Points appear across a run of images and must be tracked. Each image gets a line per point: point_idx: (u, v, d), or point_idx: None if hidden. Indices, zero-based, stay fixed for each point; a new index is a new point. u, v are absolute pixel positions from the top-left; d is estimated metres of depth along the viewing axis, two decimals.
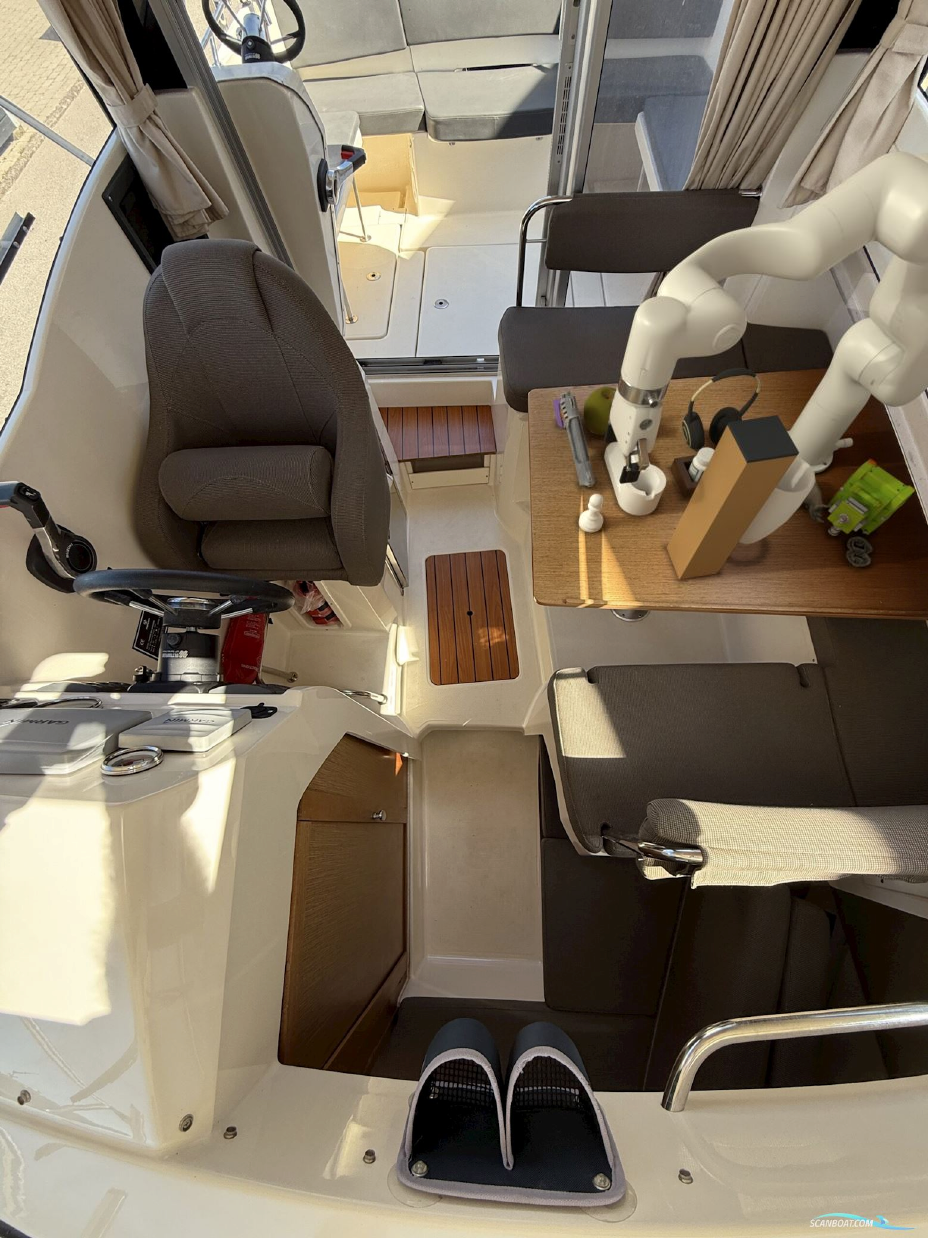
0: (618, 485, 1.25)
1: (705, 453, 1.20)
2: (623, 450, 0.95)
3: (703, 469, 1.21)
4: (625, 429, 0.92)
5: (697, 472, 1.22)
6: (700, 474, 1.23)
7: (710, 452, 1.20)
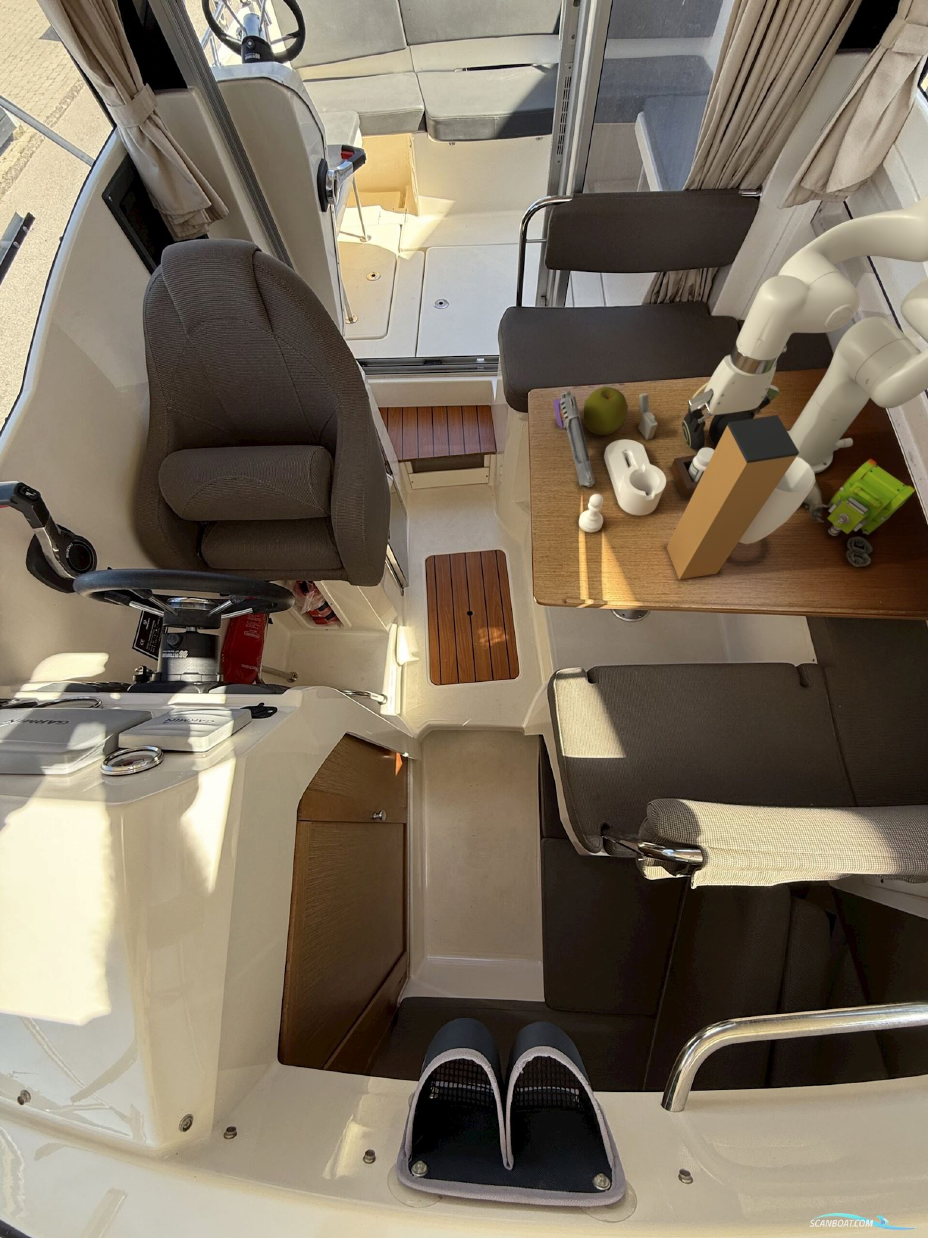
0: (618, 485, 1.25)
1: (705, 453, 1.20)
2: (755, 406, 1.07)
3: (703, 469, 1.21)
4: (760, 390, 1.03)
5: (697, 472, 1.22)
6: (700, 474, 1.23)
7: (710, 452, 1.20)
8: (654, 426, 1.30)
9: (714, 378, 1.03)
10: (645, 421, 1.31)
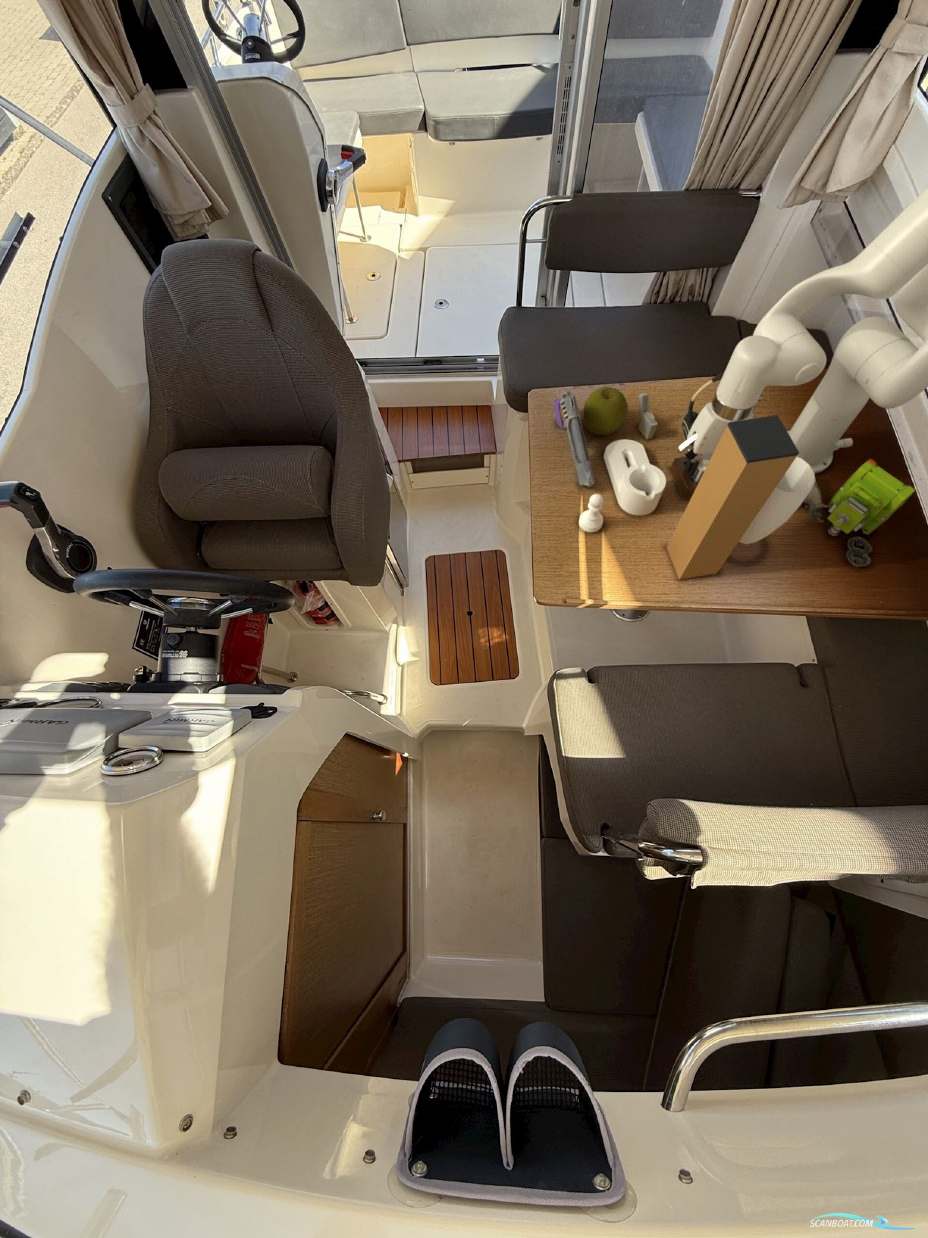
0: (618, 485, 1.25)
1: (705, 453, 1.20)
2: None
3: (703, 469, 1.21)
4: None
5: (697, 472, 1.22)
6: (700, 474, 1.23)
7: None
8: (654, 426, 1.30)
9: (697, 422, 1.13)
10: (645, 421, 1.31)
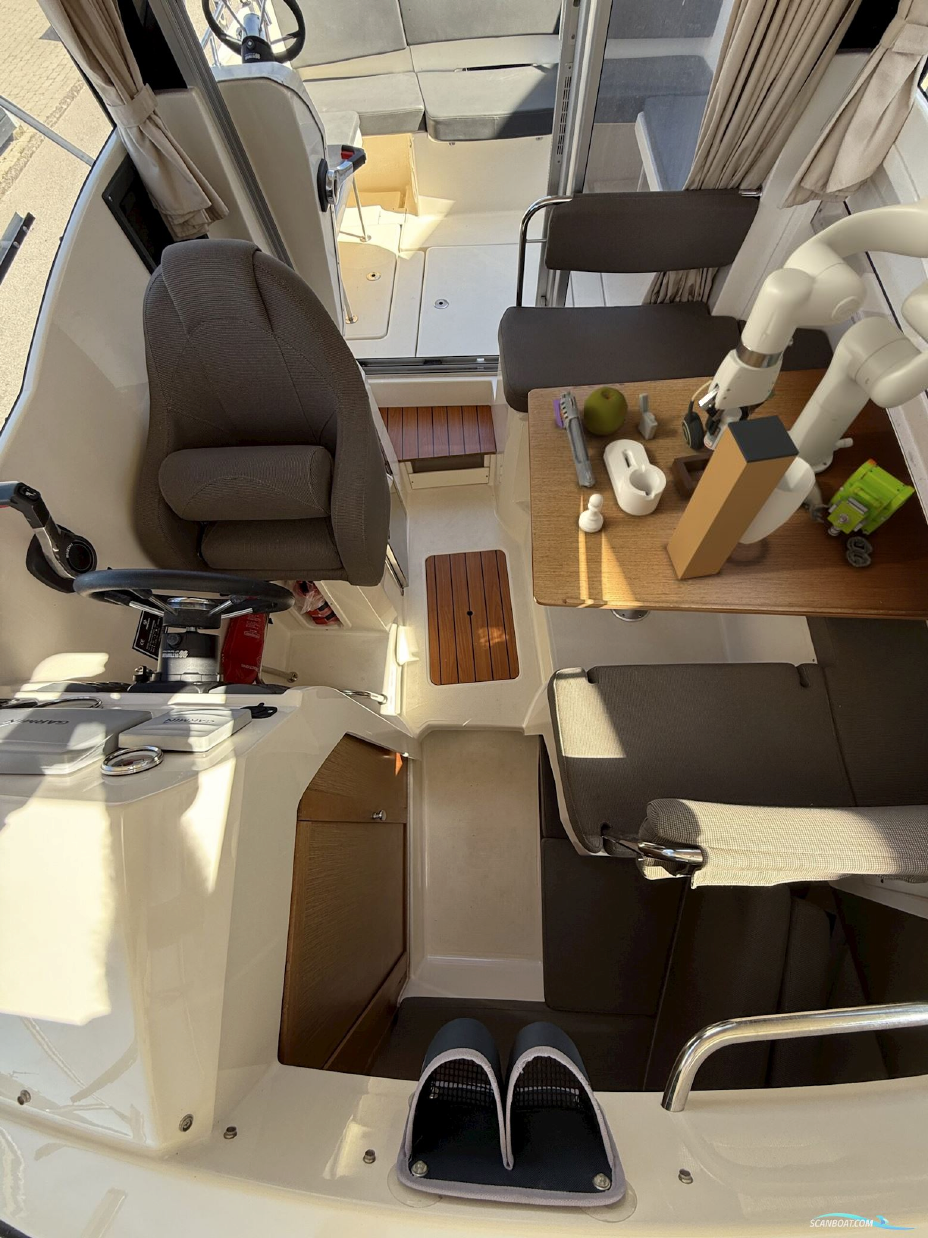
0: (618, 485, 1.25)
1: (728, 409, 1.10)
2: (762, 399, 1.06)
3: None
4: (767, 384, 1.02)
5: (719, 431, 1.12)
6: (722, 434, 1.12)
7: (733, 408, 1.10)
8: (654, 426, 1.30)
9: (720, 373, 1.02)
10: (645, 421, 1.31)
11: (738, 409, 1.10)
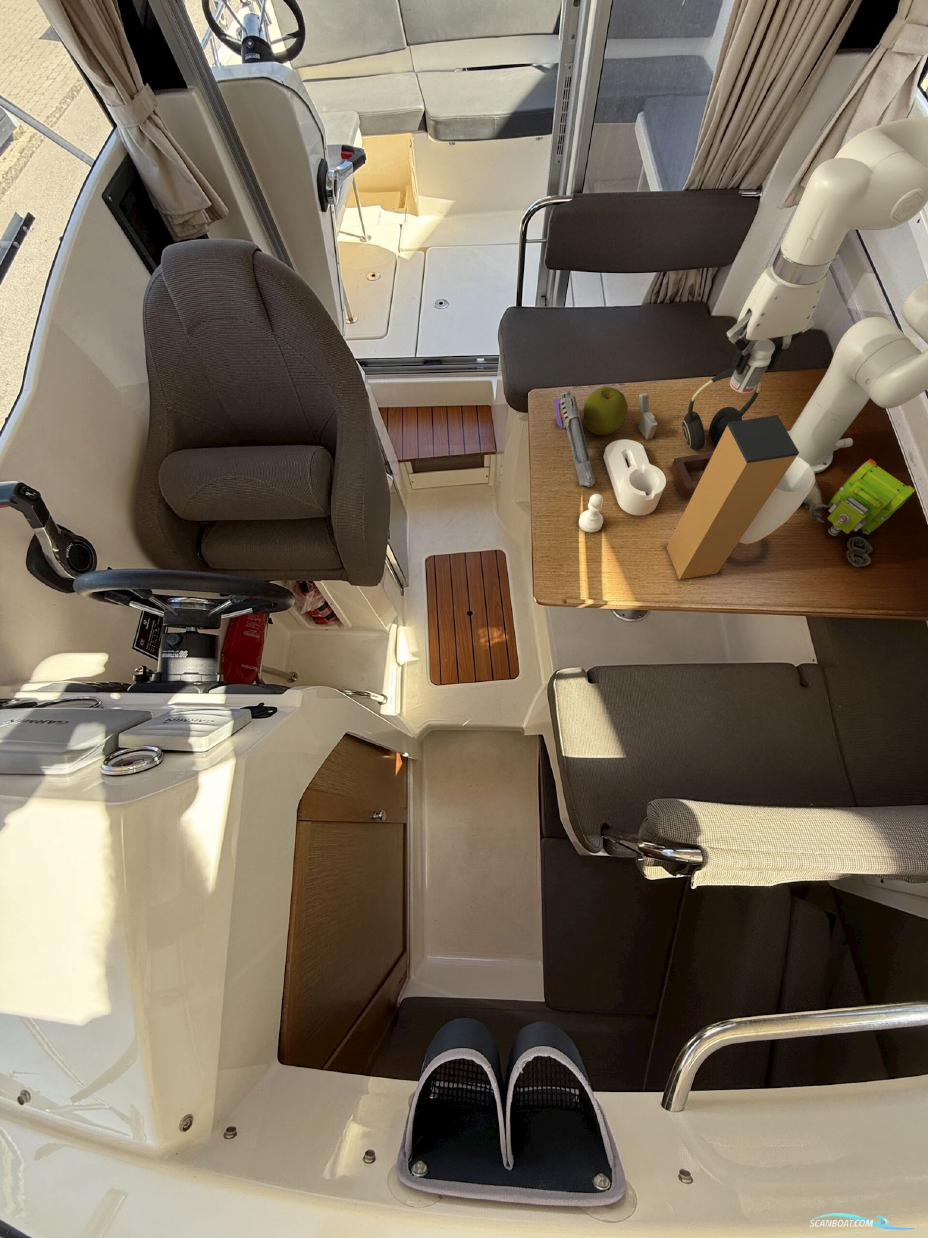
0: (618, 485, 1.25)
1: (760, 343, 0.97)
2: (800, 329, 0.93)
3: (756, 364, 0.98)
4: (807, 308, 0.89)
5: (748, 369, 0.99)
6: (752, 372, 0.99)
7: (765, 342, 0.97)
8: (654, 426, 1.30)
9: (753, 295, 0.89)
10: (645, 421, 1.31)
11: (771, 343, 0.97)
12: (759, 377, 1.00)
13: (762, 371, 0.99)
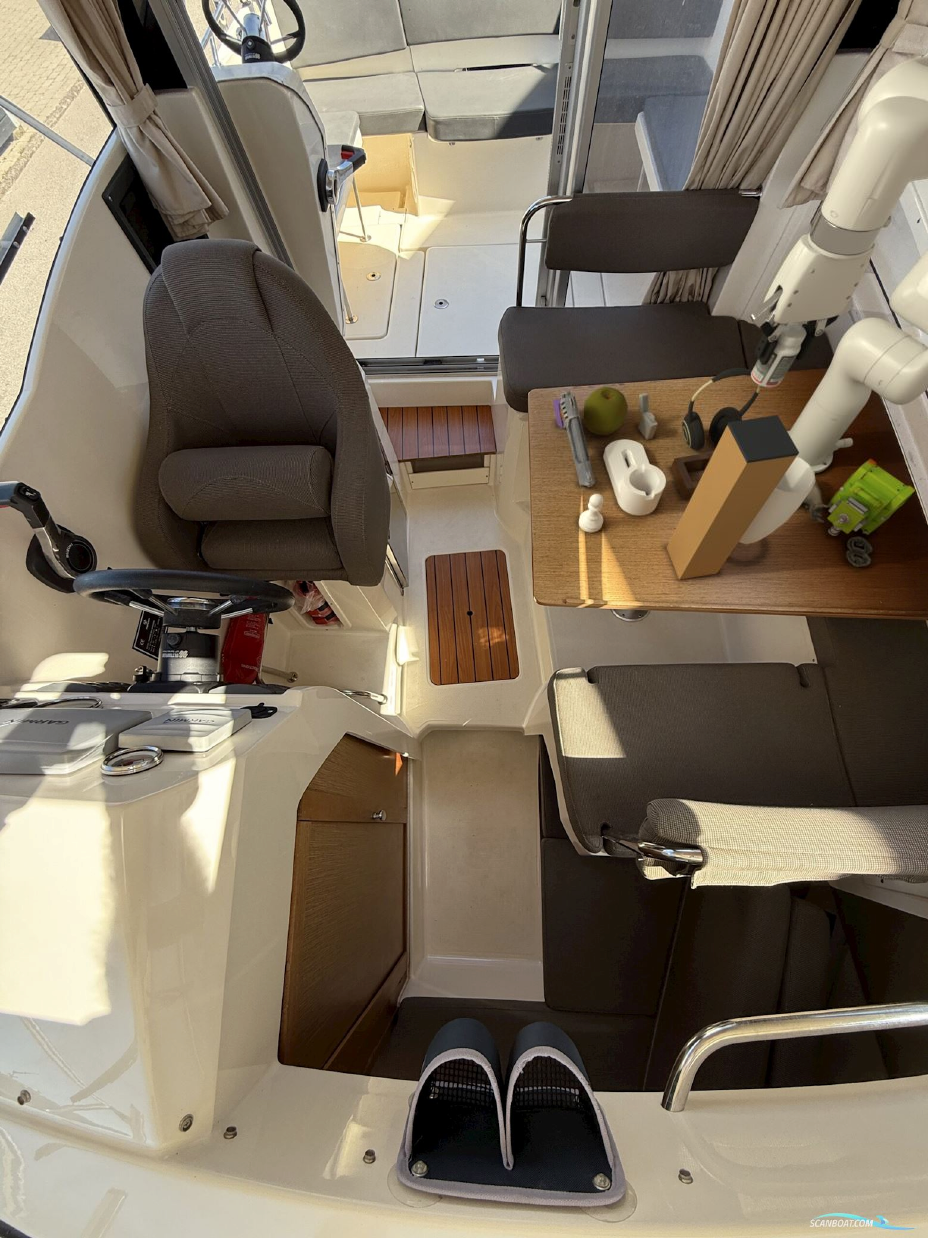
0: (618, 485, 1.25)
1: (789, 328, 0.83)
2: (837, 312, 0.79)
3: (784, 353, 0.84)
4: (848, 286, 0.76)
5: (774, 359, 0.86)
6: (778, 362, 0.86)
7: (795, 327, 0.84)
8: (654, 426, 1.30)
9: (784, 269, 0.76)
10: (645, 421, 1.31)
11: (801, 328, 0.84)
12: (786, 368, 0.87)
13: (790, 361, 0.86)
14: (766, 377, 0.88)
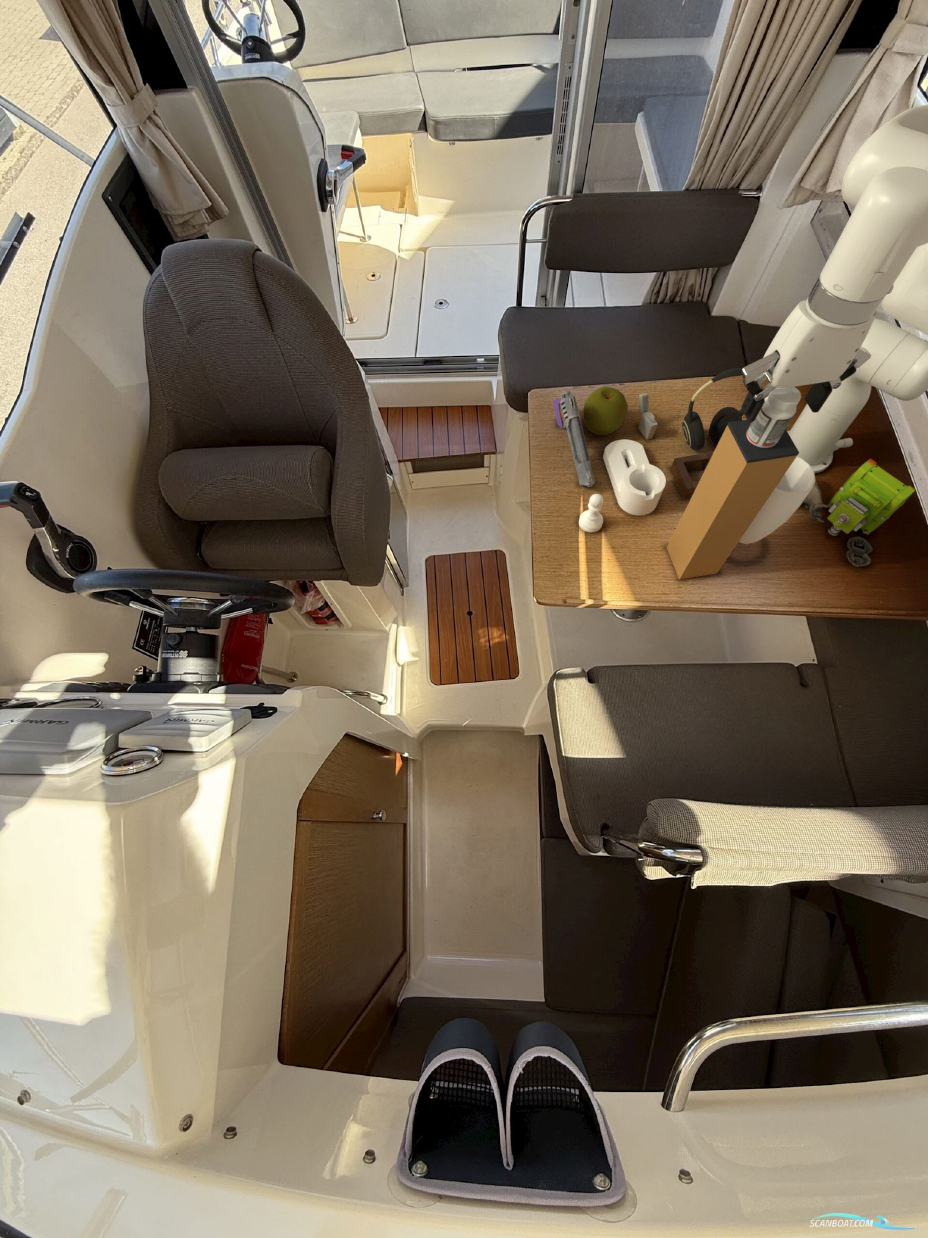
0: (618, 485, 1.25)
1: (782, 391, 0.80)
2: (837, 375, 0.76)
3: (778, 416, 0.81)
4: (848, 352, 0.72)
5: (768, 422, 0.82)
6: (773, 425, 0.82)
7: (789, 390, 0.80)
8: (654, 426, 1.30)
9: (782, 335, 0.72)
10: (645, 421, 1.31)
11: (796, 391, 0.80)
12: (782, 430, 0.83)
13: (786, 423, 0.82)
14: (762, 439, 0.85)
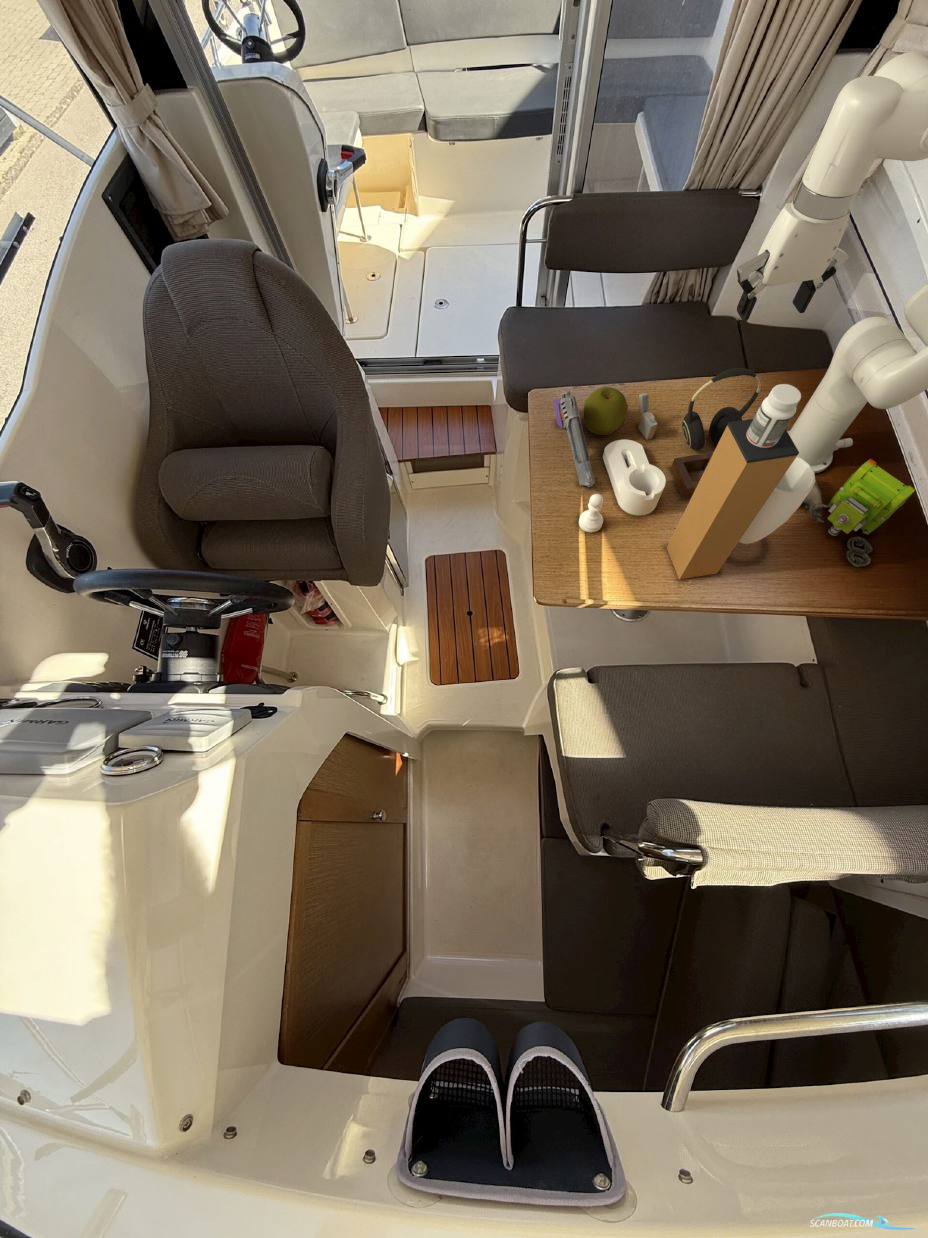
0: (617, 485, 1.25)
1: (782, 391, 0.80)
2: (819, 274, 0.88)
3: (778, 417, 0.81)
4: (828, 249, 0.84)
5: (768, 422, 0.82)
6: (773, 425, 0.82)
7: (789, 390, 0.80)
8: (654, 426, 1.30)
9: (771, 235, 0.84)
10: (645, 421, 1.31)
11: (796, 391, 0.80)
12: (782, 430, 0.83)
13: (786, 424, 0.82)
14: (762, 439, 0.85)
